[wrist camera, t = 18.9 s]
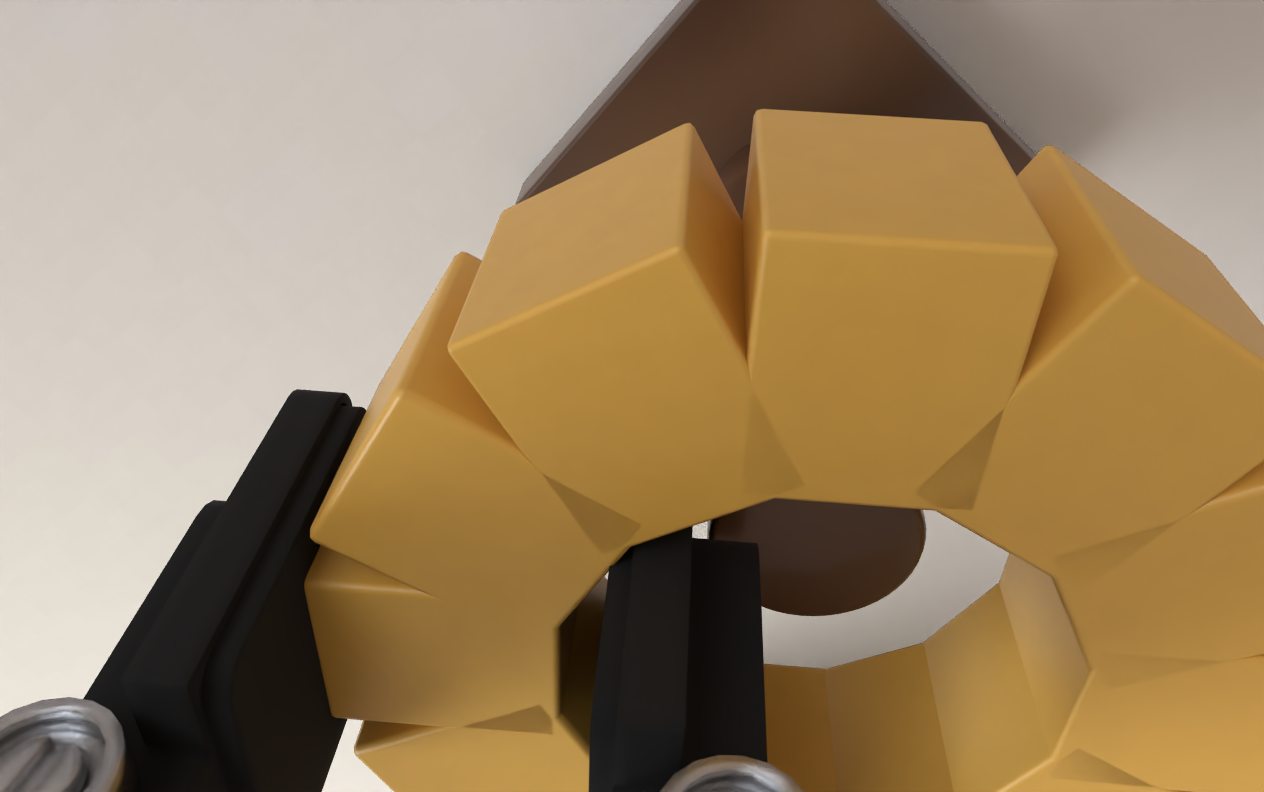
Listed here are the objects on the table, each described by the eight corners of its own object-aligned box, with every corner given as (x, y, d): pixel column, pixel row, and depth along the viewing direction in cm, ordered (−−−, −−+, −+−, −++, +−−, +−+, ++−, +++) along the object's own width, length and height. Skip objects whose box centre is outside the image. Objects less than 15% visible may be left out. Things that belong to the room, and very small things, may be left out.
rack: (521, 183, 20) (381, 548, 12) (776, -112, 17) (832, 108, 8) (774, 384, 22) (807, 804, 14) (1042, 159, 19) (1291, 540, 11)
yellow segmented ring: (259, 586, 13) (176, 750, 11) (678, -125, 8) (665, -57, 6) (859, 853, 15) (877, 1026, 13) (1472, 445, 10) (1647, 627, 8)
